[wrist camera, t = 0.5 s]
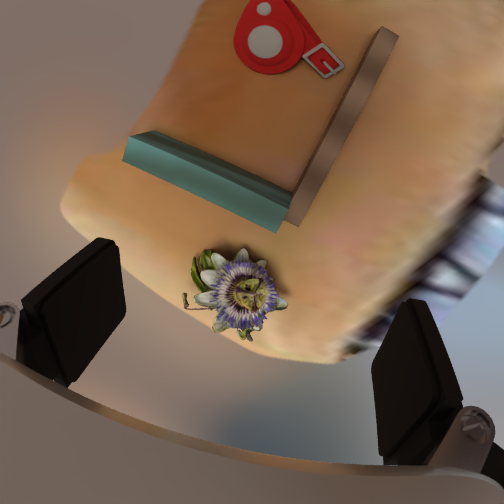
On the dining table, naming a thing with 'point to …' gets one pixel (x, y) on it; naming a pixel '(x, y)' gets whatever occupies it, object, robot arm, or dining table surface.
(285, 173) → the dining table surface
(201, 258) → the passion flower
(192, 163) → the frame
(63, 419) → the robot arm
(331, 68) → the tracker holder
